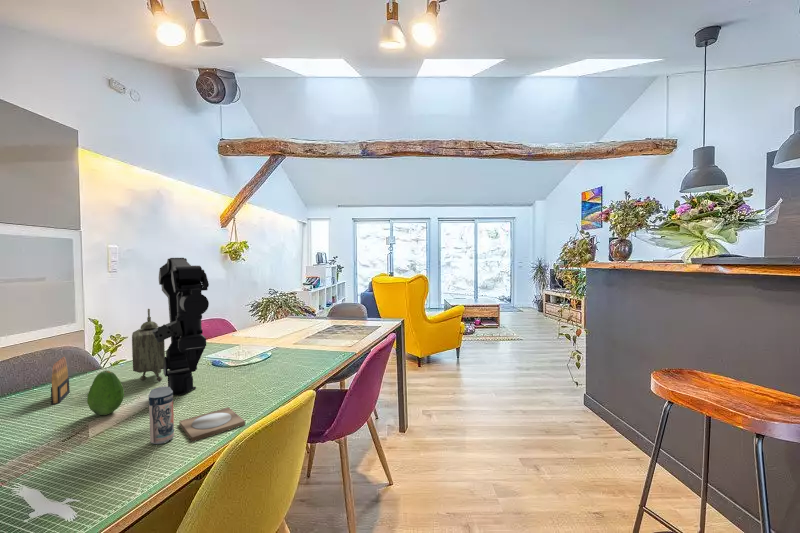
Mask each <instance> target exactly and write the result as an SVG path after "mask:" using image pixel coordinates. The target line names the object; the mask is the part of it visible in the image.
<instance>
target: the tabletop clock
mask: <svg viewBox="0 0 800 533" xmlns="http://www.w3.org/2000/svg"><path fill="white" fill-rule="evenodd" d="M150 314H151V309H150V308H147V317H146V320H147V321H145V322H143V323H142V324H141V326H140V328H139V329H136V330H134V331H133V332H132V334H131V352H132V354H131V356H132V370H133V371H132V372H135V373H139V374H142V375H141V376H140V378H139V379H140V381H144V380H146V378H147V377H146V373H148V372H153V373H154V374H155V375H156V376H155V377H156V381H158V382H161V381H162V380H163V377H162V376H160V375H159V374H161V372H162V370H163V363H164V357H166V349H165V347H166V346H165V340H164V341H162V342H159V343H158V342H157V340H156V338H155V336H154V334H153V330H154V329H156V328H158V327H159V325H158V323H156V321H153V320H152V317H151V315H150Z"/></svg>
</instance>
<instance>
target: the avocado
mask: <svg viewBox="0 0 800 533" xmlns="http://www.w3.org/2000/svg"><path fill="white" fill-rule="evenodd" d="M124 397H125V391H124V386H123V384H122V382H121V380H120V379H119V378H118V376H117V375H116V374H115V373H114V372H112V371H109V370H103V371H101V372H99V373H98V374H96V376H95V377H94V379H93V381H92V384H91V386H90V388H89V391H88V393H87V399H86V403H87V405H88V408H89V409H90V411H91V412H93V413H94V414H95V415H98V416H106V415H109V414H110V415H111V414H112V413H114V412H115V411H116V410H117V409H118V408H119V407H120V406H121V405H122V403H123V401H124Z"/></svg>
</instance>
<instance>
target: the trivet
mask: <svg viewBox="0 0 800 533" xmlns="http://www.w3.org/2000/svg"><path fill="white" fill-rule="evenodd" d="M178 423H179V426H180V428H181V429H182V430H183V432H184V433H185V434H186V436H188V439H190V441H191V442H192V441H193V442H196V441H199V440H202V439H205V438H209V437H212V436H214V435H217V434H221V433H224V432H227V431H230V430H233V429H232V428H234V429H236V428H235V427H237V428H239V427H238V426H240V427H242V426H246V420H244V419H243V418H242V417H241V416H239V414H237V413H236V412H235V411H234V410H232V409H231V408H230V407H229V406H228V407H226V408H221V409H217V410H214V411H211V412H207V413H204V414H200V415H196V416H193V417H189V418H185V419H182V420H179V422H178ZM229 429H230V430H229ZM226 430H227V431H226ZM223 431H224V432H223ZM195 440H196V441H195Z"/></svg>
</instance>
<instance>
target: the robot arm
mask: <svg viewBox="0 0 800 533" xmlns="http://www.w3.org/2000/svg"><path fill="white" fill-rule="evenodd" d="M208 280H209V279H208V276H207V273H206V272H205V269H203V268H202V266H201V265H192V264H190V263H189V262H188V260H187V258H184V257H169V258H167V261H166V263H165V264H163V265H162V266H160V268H159V271H158V285H160V286H161V291H162V293H163V294H164V295H165V296H166V297H167V302H168V315H169V322H168V323H166V324H165V323H164V324H163V325H161V326H158V328H156V329H154V330H153V334H154V336H155V338H156V340H157V342H158V343H159V342H162V341H164V342H165V340H168V339H169V338H170V341H171V342H170V344H169V346H168V347H167V350H165V357H164V363H163V369H162V371H163V375H164V377H167V387H170V388H171V390H172V391H173V396H183V395H184V394H187V393H189V392H191V391H193V390H195V389H196V388H197V386H194V376H193V372H194V373H195V372H196V371H197V369H198V364H199V362H200V360H201V358H202V355H203V353H204V350H205V349H206V347H207V338H206V336H204V334H203V329H202V325H203V324H202V319H203V314H204V313H206V312H207V311H208V308H209V306H210V302H209V299H208V298H207V297H206V295H204V294H202V292H203V291H208V288H209V285H210V283H209V281H208Z"/></svg>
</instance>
